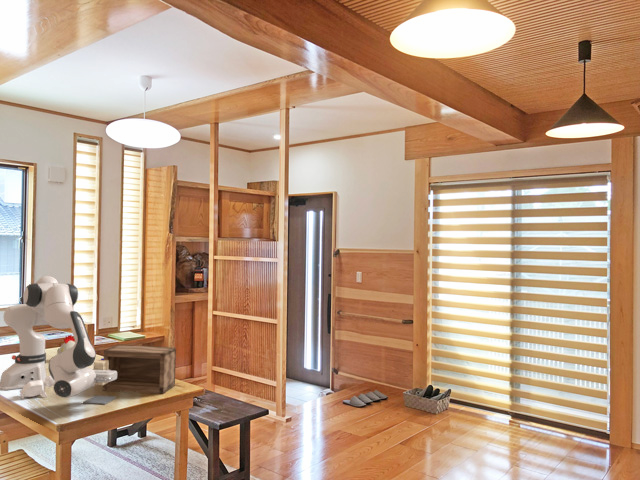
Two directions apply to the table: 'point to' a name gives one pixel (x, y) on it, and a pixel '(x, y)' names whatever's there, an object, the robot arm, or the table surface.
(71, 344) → the kitchen timer
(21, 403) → the table surface
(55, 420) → the table surface
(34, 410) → the table surface
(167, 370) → the brown wooden box
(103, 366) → the beech block
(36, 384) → the white animal figurine
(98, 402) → the slate mat
